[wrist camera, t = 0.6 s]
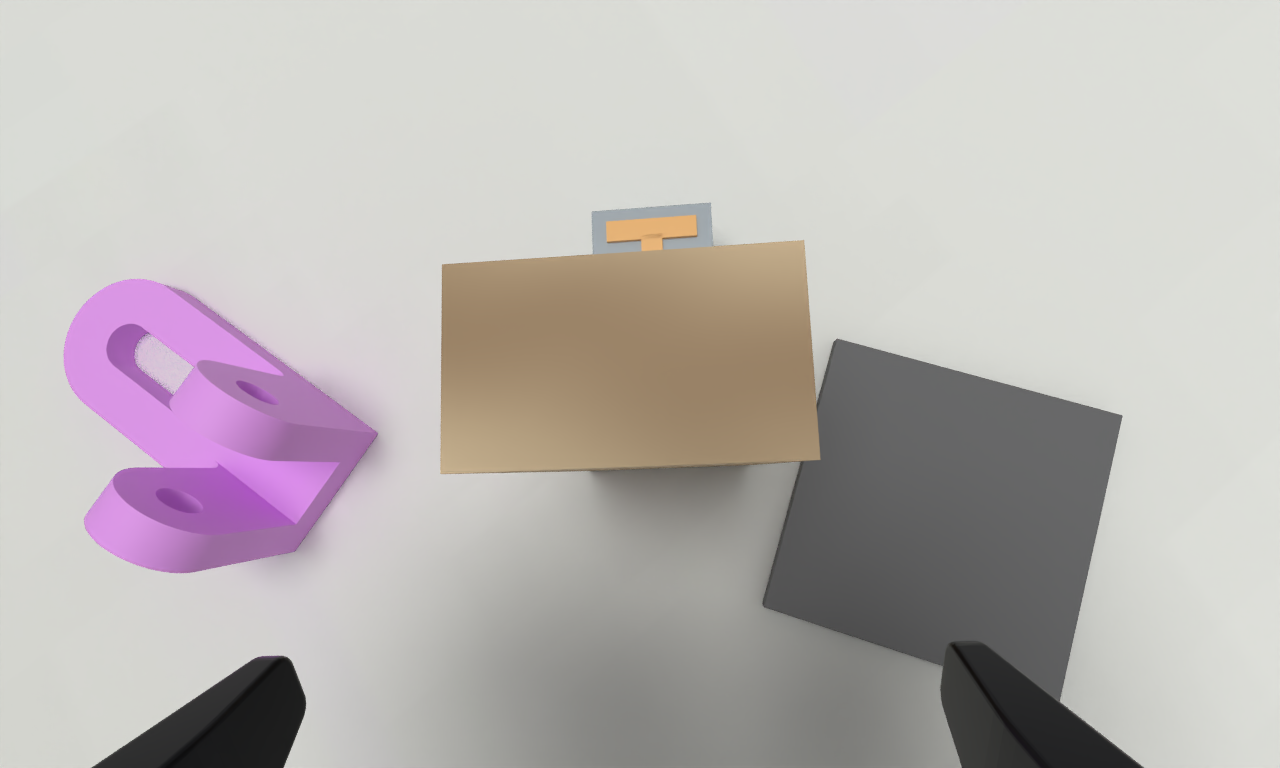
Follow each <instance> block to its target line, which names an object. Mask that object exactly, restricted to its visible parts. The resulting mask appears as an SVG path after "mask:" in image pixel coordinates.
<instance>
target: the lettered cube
mask: <svg viewBox="0 0 1280 768" xmlns="http://www.w3.org/2000/svg"><path fill="white" fill-rule="evenodd" d="M592 240H593V254H607V253H622V252H637V251H652V250H667V249H682V248H697V247H712V246H713V236H712V218H711V203H700V204H686V205H673V206H660V207H646V208H633V209H620V210H606V211H593V212H592Z"/></svg>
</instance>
